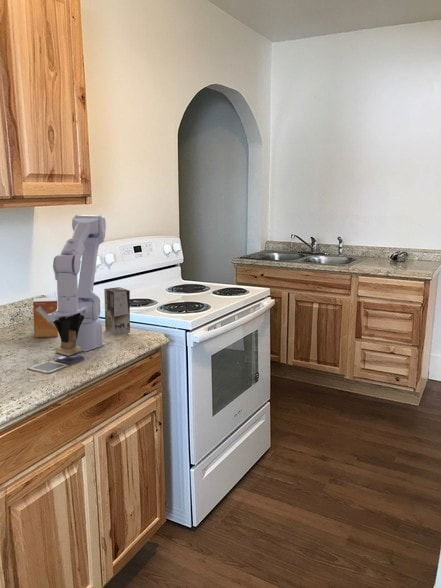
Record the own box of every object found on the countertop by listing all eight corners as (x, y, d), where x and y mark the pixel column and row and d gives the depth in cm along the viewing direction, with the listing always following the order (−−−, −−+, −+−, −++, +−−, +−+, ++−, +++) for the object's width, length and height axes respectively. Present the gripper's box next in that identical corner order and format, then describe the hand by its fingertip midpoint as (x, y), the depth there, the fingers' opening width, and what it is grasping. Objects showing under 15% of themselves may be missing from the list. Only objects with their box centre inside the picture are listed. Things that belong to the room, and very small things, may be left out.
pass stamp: (67, 349, 152) (68, 327, 150) (80, 353, 149) (80, 330, 148) (55, 354, 147) (55, 331, 146) (68, 357, 145) (68, 334, 144)
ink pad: (69, 356, 152) (69, 353, 152) (84, 359, 150) (84, 356, 150) (55, 362, 147) (54, 358, 147) (70, 365, 145) (70, 361, 144)
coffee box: (130, 334, 180) (130, 290, 178) (114, 336, 177) (113, 291, 174) (120, 328, 188) (120, 286, 185) (104, 330, 184) (103, 287, 181)
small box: (34, 338, 172) (32, 301, 170) (34, 333, 178) (33, 297, 176) (58, 336, 175) (57, 300, 173) (58, 332, 181) (57, 297, 179)
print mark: (48, 361, 148) (48, 360, 148) (69, 365, 144) (69, 364, 144) (27, 369, 141) (27, 368, 141) (48, 374, 137) (48, 372, 137)
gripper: (74, 290, 153) (76, 333, 155) (38, 297, 140) (40, 344, 143) (92, 292, 150) (93, 336, 152) (57, 300, 137) (58, 347, 140)
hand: (69, 340), depth 147 cm, fingers closed on pass stamp, 3 cm apart
